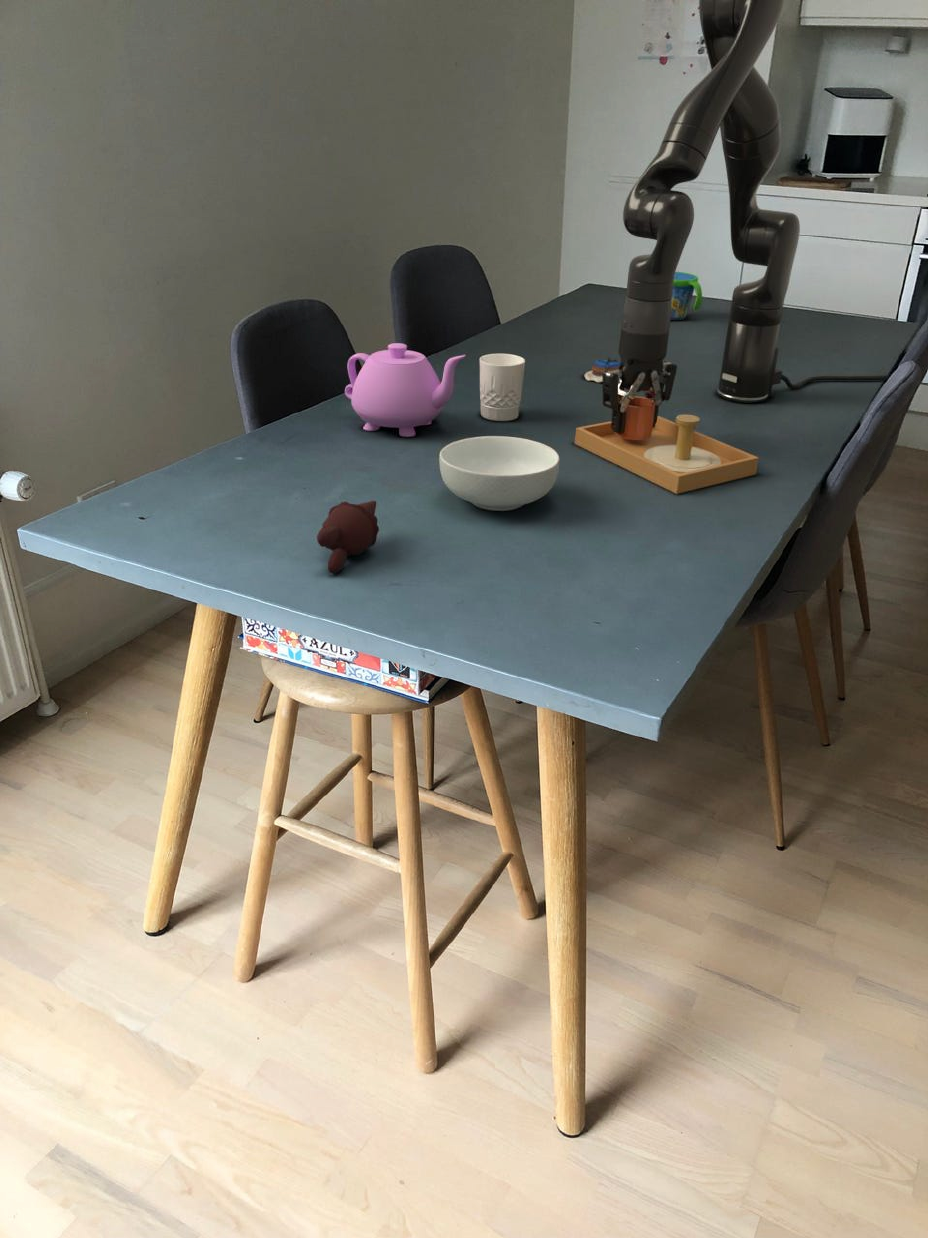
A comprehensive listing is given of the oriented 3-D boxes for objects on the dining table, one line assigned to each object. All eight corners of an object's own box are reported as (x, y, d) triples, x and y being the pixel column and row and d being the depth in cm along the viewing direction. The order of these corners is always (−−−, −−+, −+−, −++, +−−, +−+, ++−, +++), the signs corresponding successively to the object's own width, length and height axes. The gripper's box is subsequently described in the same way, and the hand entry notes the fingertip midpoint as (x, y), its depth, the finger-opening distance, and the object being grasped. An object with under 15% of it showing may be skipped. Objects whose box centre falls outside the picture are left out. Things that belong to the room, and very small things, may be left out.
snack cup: (709, 321, 246) (715, 278, 241) (678, 326, 241) (684, 282, 236) (663, 309, 257) (668, 267, 252) (633, 313, 252) (638, 271, 247)
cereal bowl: (568, 488, 149) (572, 443, 146) (539, 531, 135) (542, 482, 132) (460, 472, 154) (462, 427, 150) (421, 512, 140) (421, 464, 136)
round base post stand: (683, 445, 165) (689, 401, 161) (736, 468, 156) (744, 423, 152) (627, 457, 159) (632, 412, 156) (679, 482, 150) (686, 435, 147)
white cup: (518, 424, 174) (521, 367, 169) (473, 420, 176) (475, 363, 171) (524, 410, 181) (528, 355, 176) (482, 406, 182) (484, 351, 177)
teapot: (479, 422, 175) (482, 342, 168) (444, 449, 162) (446, 365, 155) (366, 404, 182) (364, 327, 175) (324, 429, 169) (320, 347, 162)
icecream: (342, 480, 133) (289, 532, 121) (392, 475, 130) (342, 528, 118) (357, 526, 136) (307, 582, 124) (406, 523, 133) (359, 579, 121)
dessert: (625, 369, 204) (625, 350, 198) (624, 395, 201) (624, 376, 195) (585, 369, 205) (584, 350, 200) (583, 396, 202) (583, 377, 197)
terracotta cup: (635, 426, 169) (638, 394, 167) (658, 436, 165) (663, 404, 162) (607, 431, 166) (610, 399, 164) (631, 442, 162) (634, 409, 159)
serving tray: (650, 428, 174) (652, 412, 173) (755, 474, 156) (758, 457, 155) (574, 443, 166) (575, 427, 165) (676, 494, 148) (679, 476, 147)
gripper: (625, 336, 151) (614, 443, 159) (695, 326, 158) (681, 429, 166) (594, 326, 156) (585, 429, 165) (663, 316, 163) (651, 416, 172)
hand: (633, 429), depth 165 cm, fingers closed on terracotta cup, 6 cm apart
